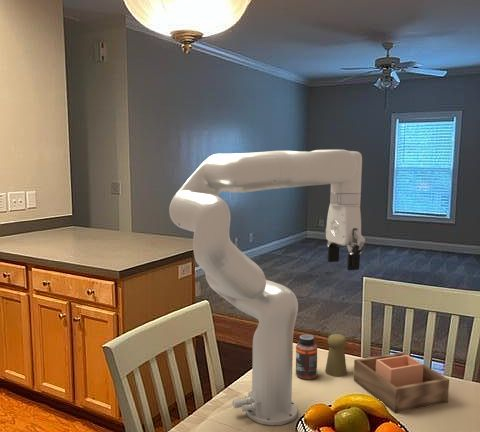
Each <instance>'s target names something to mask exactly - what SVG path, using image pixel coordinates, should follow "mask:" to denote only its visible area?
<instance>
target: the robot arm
mask: <svg viewBox="0 0 480 432" xmlns="http://www.w3.org/2000/svg"><path fill="white" fill-rule="evenodd" d="M362 167H363V156H362V153H361V152H359V151H356V150H355V151H354V150H346V149H315V150H311V151H297V150H271V151H270V150H269V151H258V152H254V151H252V152H241V153H240V152H239V153H214V154H212V155H210V156H208V157H207V158H206V159H205V160H203V162H202V163H200V165H199V166H198V167H197V168H196V169H195V171H194V172H193V173H192V174H191V175H190V176H189V177H188V178H187V180H186V181H185V183H183V184H182V185H181V187H180V188H179V189H178V190H177V192H176V193H175V194H174V195H173V197H172V199H171V201H170V204H169V208H168V209H169V210H168V212H169V213H168V214H169V217H170V220H171V222H173V224H174V225H175V226H177V227H178V228H180V229H182V230H186V231H189V232H193V238H192V245H193V247H192V248H193V257H194V260H195V263H196V264H197V265H198V266H199V268H200V269H202V271H203V272H204V273H205V274H204V275H205V279H206V282H207V284H208V285H209V287H210V288H211V289H212V290H213V291H214V292H215V293H216V294H218V295H219V296H220V297H222V298H223V299H224V300H225V301H227V302H228V303H229V304H231V305H232V306H233V307H235V308H236V310H237V309H238V310H239V311H240V312H243V314H246V315H248V316H249V317H252V318H254V319H256V320H258V324H257V327H256V329H255V331H254V334H253V336H252V372H251V375H252V376H251V377H252V378H251V379H252V381H251V383H252V384H251V387H252V388H251V390H249V391H248V393H247V394H248V396H245V397H244V398H237V399H236V398H235V399H232V401H231V402H232V407H233V409H238V408H240V411H241V412H242V413H243V412H245V414H246V416H247V417H248V418H250V420H252V421H253V422H255V423H259V424H261V425H265V426H266V425H268V426H279V425H280V426H281V425H286V424H289V423H290V422H293V421H294V420H295V419H296V418H297V417H298V414H299V412H298V411H299V408H298V405H297V403H296V402H294V400H292V398H293V397H292V394H293V392H292V391H293V360H294V359H293V354H294V353H293V352H294V351H293V349H294V344H293V343H294V330H295V325H296V319H297V317H298V311H299V301H298V298H297V295H296V294H295V293H294V292H293V291H292V290H291V289H290V288H288V287H287V286H285V285H283V284H280V283H278V282H275V281H271V280H268V279H266V276H265V273H264V271H263V269H262V268H261V267H260V266H259V265H258V264H257V263H256V262H255V261H253V260H252V258H249V257H248V255H246V254H245V253H244V252H243V251H242V250H240V249H239V248H238V246H237V245H235V243H234V242H232V240H231V237H230V230H231V229H230V227H231V212H230V208H229V206H228V204H227V202H226V201H225V200H224V199H223V198H221V197H219V195H220V194H221V193H222V192H225V193H235V194H239V193H241V194H242V193H250V192H251V193H252V192H257V191H258V192H259V191H266V190H275V189H276V190H277V189H283V188H284V189H289V188H300V187H307V186H308V187H309V186H322V185H330V196H329V197H330V199H329V200H330V202H329V206H328V211H327V216H326V217H327V218H326V227H325V230H324V231H325V240H326V241H327V243H326V246H327V262H329V263H336V262H337V263H338V262H339V261H340V246H341V247H344V246H346V247H347V250H348V254H347V262H346V263H347V265H346V269H347V270H348V271H357V270H360V261H361V260H360V259H361V255H362V251H363V250H364V245H365V242H366V238H365V236H363V235H362V216H361V215H362V213H361V196H362V195H361V193H362V170H363V168H362Z"/></svg>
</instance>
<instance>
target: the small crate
mask: <svg viewBox="0 0 480 432" xmlns="http://www.w3.org/2000/svg"><path fill="white" fill-rule="evenodd" d="M423 365H425V364H424V363H423V362H421V361H419V360H417V359H415V358H414V357H412V356H410V355H409V354H406V355H403V356H396V357H390V358H384V359H377V360H376V373H378V374H379V375H381V376H382V377H383V378H385V379H386V380H388V381H389V382H390V383H392V384H393V385H395V386H396V387H400V386H405V385H411V384H416V383H422V382H423Z"/></svg>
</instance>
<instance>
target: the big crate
mask: <svg viewBox="0 0 480 432" xmlns="http://www.w3.org/2000/svg"><path fill="white" fill-rule="evenodd" d="M403 355H407V354H406V353H405V352H395V353H390V354H384V355H377V356H371V357H370V356H369V357H364V358H357V359H354V362H353V363H354V364H353V381H354V382H355V383H356V384H357V385H358V386H360V387H361V388H362V389H364V390H365V391H366V392H368V394H369V395H371V396H372V397H374V398H375V399H376V398H377V399H376V400H378V399H379V400H380V401H382V402H383V403H384V404H385V405H384V404H383V403H382V404H383V405H384V406H385V407H386V408H388V409H389V410H390V411H392V412H393V413H394V414H397V413H402V412H406V411H412V410H416V409H423V408H427V407H432V406H437V405H443V404H447V403H448V402H449V389H450V379H448V378H447V377H445V376H443V375H442V374H440V373H439V372H437V371H435V370H434V369H431V368H430V367H428V366H427V365H426V364H424V365H423V382H422V383H416V384H411V385H405V386H400V387H396V386H395V385H393V384H392V383H390V382H389V381H388V380H386V379H385V378H383V377H382V376H381V375H379V374H378V373H376V360H377V359H384V358H390V357H396V356H403ZM379 400H378V401H379ZM380 401H379V402H380Z"/></svg>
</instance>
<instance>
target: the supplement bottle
mask: <svg viewBox="0 0 480 432" xmlns="http://www.w3.org/2000/svg"><path fill="white" fill-rule="evenodd" d="M317 375H318V345H317V344H316V343H315V337H314V336H313V335H311V334H302V335H300V336H299V341H298V342H297V343H296V345H295V376H297V378H299V379H303V380H311V379H314V378H317Z"/></svg>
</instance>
